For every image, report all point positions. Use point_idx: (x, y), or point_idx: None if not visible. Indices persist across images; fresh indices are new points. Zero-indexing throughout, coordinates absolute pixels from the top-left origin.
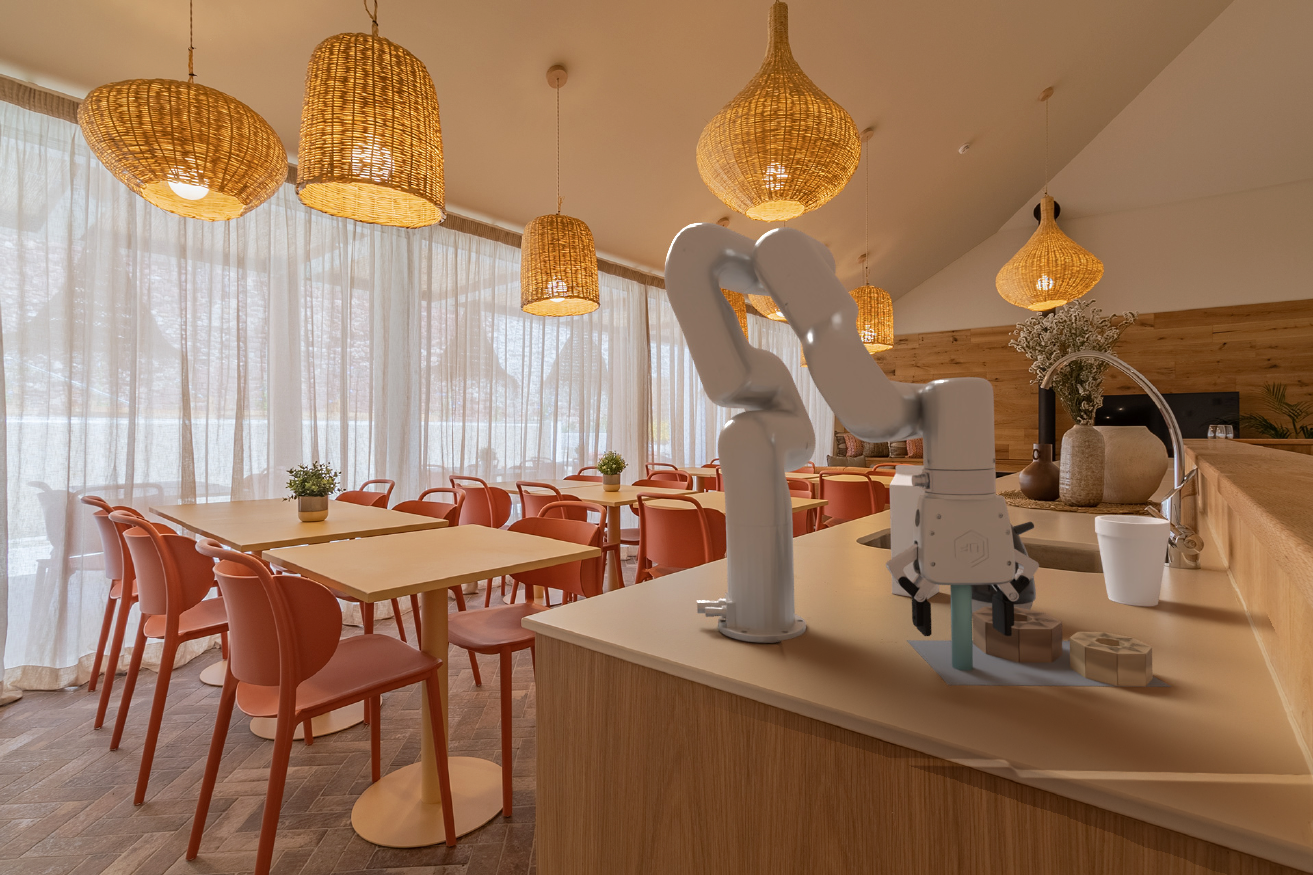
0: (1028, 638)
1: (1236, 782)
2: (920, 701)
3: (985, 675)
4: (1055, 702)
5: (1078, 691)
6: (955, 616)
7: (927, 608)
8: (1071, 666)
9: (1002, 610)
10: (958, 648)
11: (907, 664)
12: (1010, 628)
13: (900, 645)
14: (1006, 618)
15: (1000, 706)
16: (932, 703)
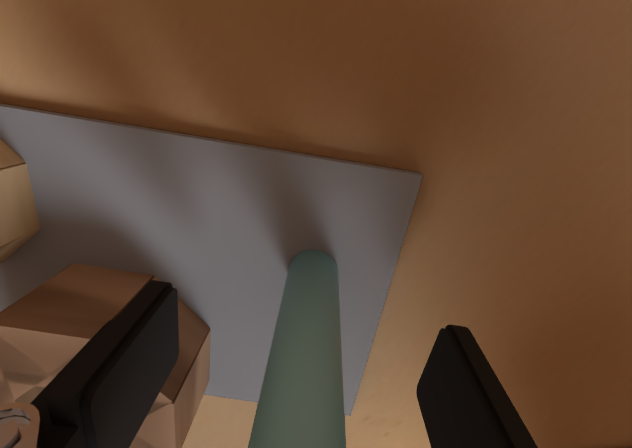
0: (86, 312)
1: None
2: (550, 110)
3: (285, 216)
4: (178, 48)
5: (80, 110)
6: (340, 385)
7: (516, 426)
8: (34, 224)
9: (122, 370)
10: (333, 292)
11: (419, 318)
12: (141, 294)
13: (367, 403)
14: (132, 328)
15: (349, 43)
16: (527, 92)
